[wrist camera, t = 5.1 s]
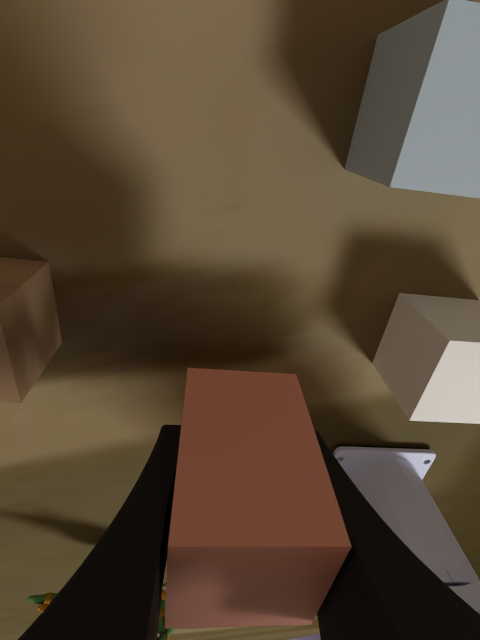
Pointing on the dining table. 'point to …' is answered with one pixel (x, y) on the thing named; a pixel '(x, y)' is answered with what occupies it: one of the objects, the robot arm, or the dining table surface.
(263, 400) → the brick-red block
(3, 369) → the walnut block
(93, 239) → the dining table surface
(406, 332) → the pale grey block
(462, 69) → the blue-grey block
